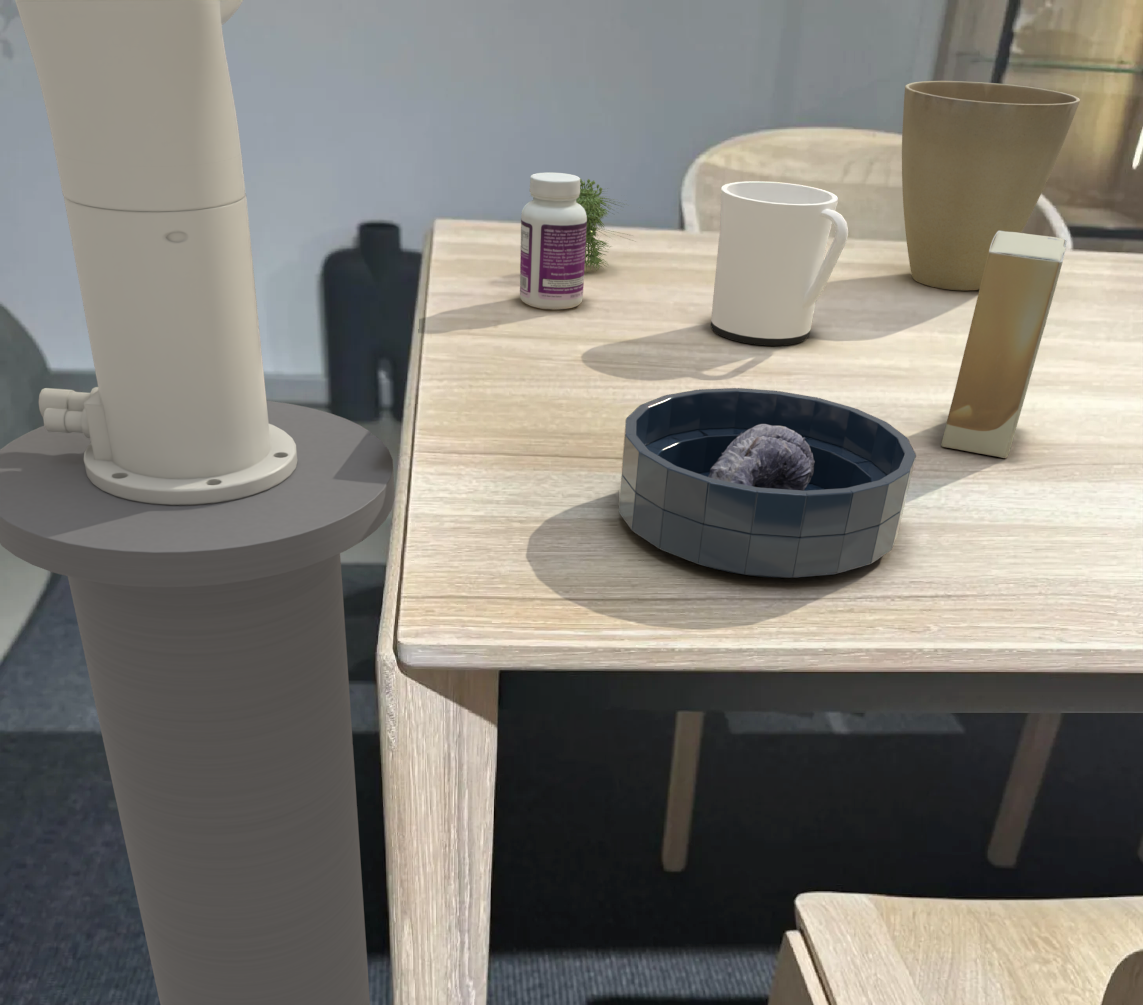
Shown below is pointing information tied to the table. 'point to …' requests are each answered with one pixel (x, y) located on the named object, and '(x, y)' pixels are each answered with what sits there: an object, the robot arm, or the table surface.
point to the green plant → (594, 220)
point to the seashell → (766, 459)
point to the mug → (773, 260)
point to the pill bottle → (553, 243)
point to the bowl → (763, 515)
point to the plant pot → (973, 170)
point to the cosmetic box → (1003, 341)
